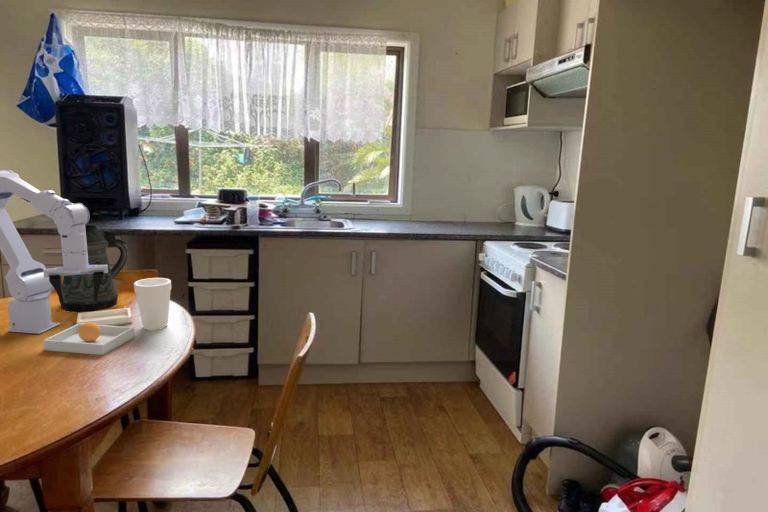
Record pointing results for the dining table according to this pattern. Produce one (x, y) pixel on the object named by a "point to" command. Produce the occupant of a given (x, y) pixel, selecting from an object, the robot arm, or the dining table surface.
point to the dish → (106, 317)
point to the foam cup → (153, 301)
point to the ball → (89, 331)
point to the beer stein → (82, 286)
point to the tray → (100, 346)
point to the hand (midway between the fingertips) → (79, 301)
